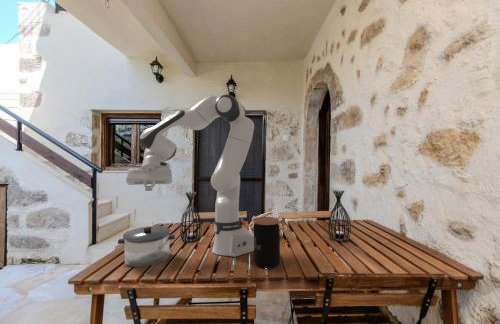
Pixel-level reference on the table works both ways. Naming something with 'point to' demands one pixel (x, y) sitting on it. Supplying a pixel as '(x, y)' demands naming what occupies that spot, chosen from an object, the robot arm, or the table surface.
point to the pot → (146, 251)
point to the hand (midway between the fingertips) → (148, 190)
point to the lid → (146, 233)
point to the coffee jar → (266, 242)
